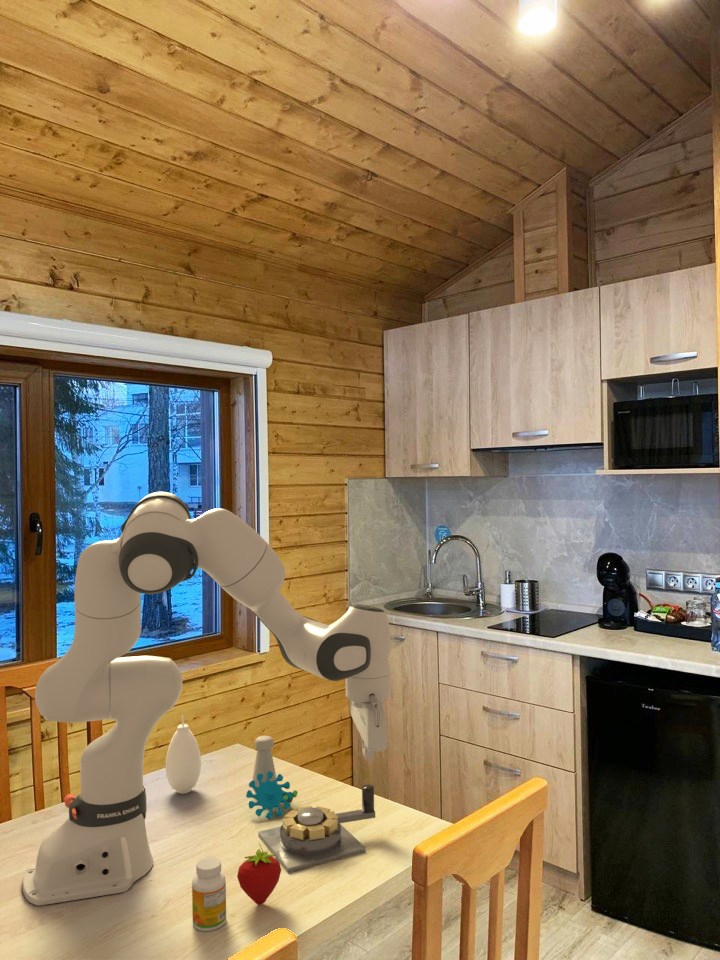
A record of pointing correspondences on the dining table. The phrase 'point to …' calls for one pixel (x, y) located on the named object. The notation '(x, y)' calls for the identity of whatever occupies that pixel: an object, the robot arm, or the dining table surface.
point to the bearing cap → (310, 843)
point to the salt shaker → (264, 759)
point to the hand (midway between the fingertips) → (368, 756)
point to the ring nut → (329, 818)
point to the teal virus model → (270, 795)
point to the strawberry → (259, 876)
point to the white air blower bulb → (183, 760)
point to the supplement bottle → (208, 895)
